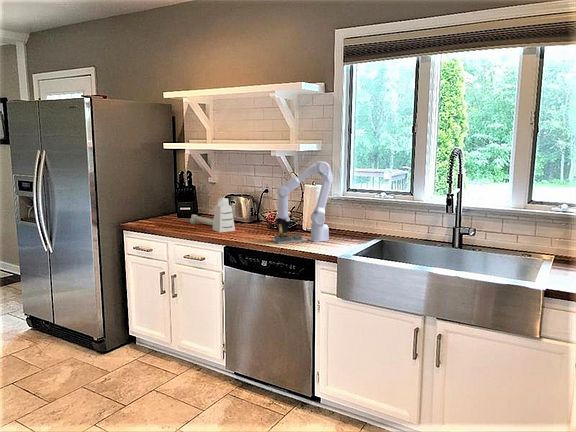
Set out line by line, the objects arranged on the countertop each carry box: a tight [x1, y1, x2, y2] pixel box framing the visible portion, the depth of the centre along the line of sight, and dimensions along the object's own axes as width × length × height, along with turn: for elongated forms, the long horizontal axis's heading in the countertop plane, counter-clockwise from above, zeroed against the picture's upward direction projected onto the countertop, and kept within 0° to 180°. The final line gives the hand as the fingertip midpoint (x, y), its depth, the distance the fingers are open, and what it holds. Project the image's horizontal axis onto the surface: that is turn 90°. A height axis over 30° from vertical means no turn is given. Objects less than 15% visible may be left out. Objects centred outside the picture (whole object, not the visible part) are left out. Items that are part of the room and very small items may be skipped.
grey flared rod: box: [189, 214, 214, 227], centre depth 317 cm, size 5×7×25 cm
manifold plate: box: [271, 233, 309, 245], centre depth 267 cm, size 18×9×3 cm, turn 114°
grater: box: [212, 197, 236, 233], centre depth 297 cm, size 10×10×20 cm
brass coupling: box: [278, 224, 288, 237], centre depth 264 cm, size 5×5×7 cm
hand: (282, 232), depth 264 cm, fingers closed on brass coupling, 4 cm apart
